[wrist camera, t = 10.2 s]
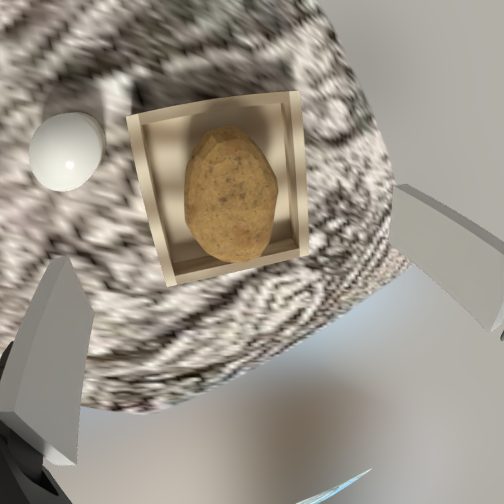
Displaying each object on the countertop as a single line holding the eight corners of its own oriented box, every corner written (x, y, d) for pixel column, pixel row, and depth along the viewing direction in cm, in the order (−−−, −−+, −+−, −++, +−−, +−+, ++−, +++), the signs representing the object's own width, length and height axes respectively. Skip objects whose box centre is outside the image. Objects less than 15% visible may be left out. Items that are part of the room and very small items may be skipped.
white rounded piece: (36, 124, 26) (21, 128, 23) (99, 103, 28) (90, 103, 24) (51, 189, 30) (40, 199, 27) (112, 171, 31) (106, 180, 28)
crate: (131, 115, 29) (125, 116, 26) (286, 91, 32) (299, 90, 29) (166, 269, 39) (167, 286, 35) (297, 241, 42) (308, 254, 38)
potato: (260, 117, 32) (285, 122, 25) (269, 232, 39) (291, 263, 32) (170, 129, 30) (170, 137, 23) (190, 247, 37) (196, 283, 30)
